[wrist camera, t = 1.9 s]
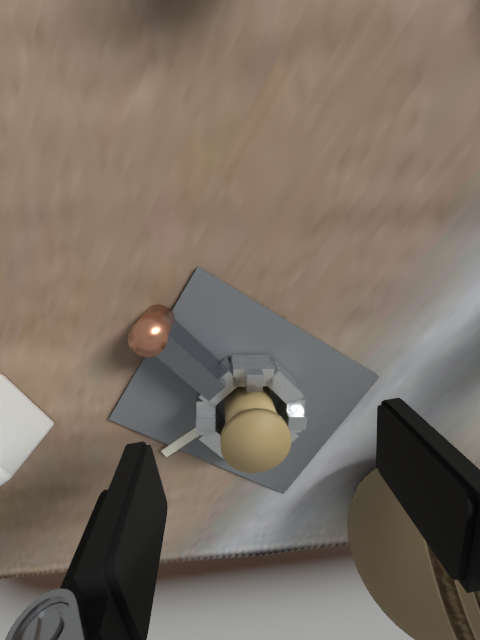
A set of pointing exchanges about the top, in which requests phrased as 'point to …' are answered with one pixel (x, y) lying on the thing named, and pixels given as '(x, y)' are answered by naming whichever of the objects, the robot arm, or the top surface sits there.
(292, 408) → the ball joint lever
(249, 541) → the top surface
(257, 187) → the top surface
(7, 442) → the medicine bottle
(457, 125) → the top surface
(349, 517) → the tan round piece
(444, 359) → the top surface
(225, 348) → the base plate
